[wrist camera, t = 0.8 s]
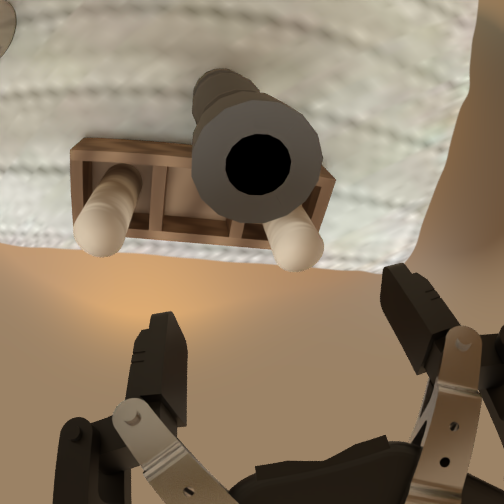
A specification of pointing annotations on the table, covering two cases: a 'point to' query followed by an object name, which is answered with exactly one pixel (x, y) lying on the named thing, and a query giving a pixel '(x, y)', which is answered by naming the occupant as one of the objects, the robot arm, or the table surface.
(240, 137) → the candle holder
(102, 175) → the wooden candle tray
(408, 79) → the table surface
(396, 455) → the robot arm
